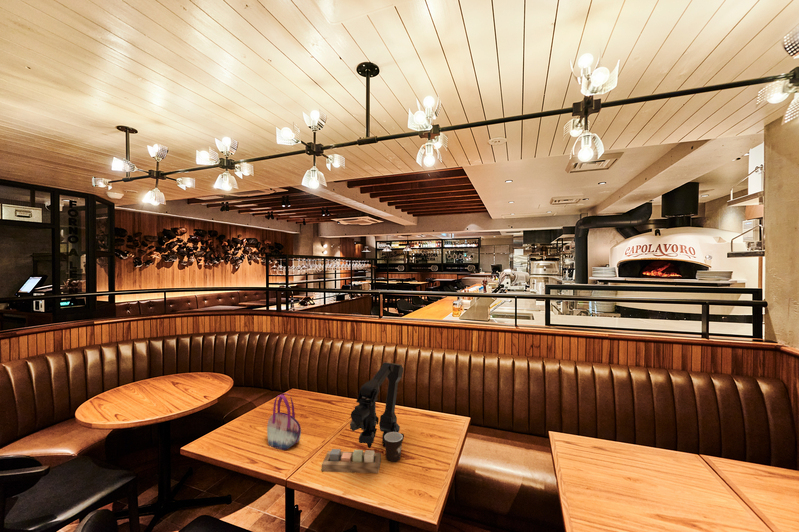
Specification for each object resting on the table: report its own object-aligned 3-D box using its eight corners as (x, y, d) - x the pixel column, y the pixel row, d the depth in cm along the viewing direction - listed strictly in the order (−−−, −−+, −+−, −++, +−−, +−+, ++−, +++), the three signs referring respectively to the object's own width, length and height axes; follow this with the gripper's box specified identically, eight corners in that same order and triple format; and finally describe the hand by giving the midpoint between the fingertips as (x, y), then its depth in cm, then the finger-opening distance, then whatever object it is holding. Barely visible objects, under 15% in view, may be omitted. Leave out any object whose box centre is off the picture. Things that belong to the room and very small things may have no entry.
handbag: (260, 443, 158) (259, 394, 158) (275, 433, 167) (275, 387, 167) (292, 453, 150) (292, 401, 149) (306, 443, 159) (306, 394, 159)
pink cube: (351, 461, 143) (351, 452, 143) (349, 467, 139) (349, 458, 139) (343, 461, 143) (343, 452, 143) (341, 466, 139) (341, 458, 139)
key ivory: (374, 459, 142) (374, 450, 142) (373, 464, 138) (373, 455, 138) (365, 458, 143) (365, 450, 143) (364, 464, 139) (364, 455, 139)
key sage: (363, 458, 143) (363, 450, 143) (361, 464, 139) (361, 455, 139) (354, 458, 143) (354, 449, 143) (352, 463, 139) (352, 455, 139)
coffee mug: (389, 466, 140) (389, 443, 140) (381, 455, 148) (381, 434, 148) (411, 458, 146) (411, 437, 146) (402, 449, 153) (402, 428, 153)
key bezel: (381, 459, 145) (380, 452, 145) (378, 473, 135) (378, 466, 135) (328, 457, 147) (328, 451, 147) (321, 471, 137) (321, 464, 137)
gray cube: (340, 457, 143) (340, 449, 143) (338, 463, 139) (338, 454, 139) (332, 457, 144) (332, 448, 144) (329, 463, 140) (329, 454, 140)
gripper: (355, 403, 150) (355, 435, 151) (346, 423, 132) (346, 460, 132) (378, 404, 150) (378, 436, 150) (372, 424, 131) (373, 461, 131)
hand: (369, 447), depth 141 cm, fingers closed
